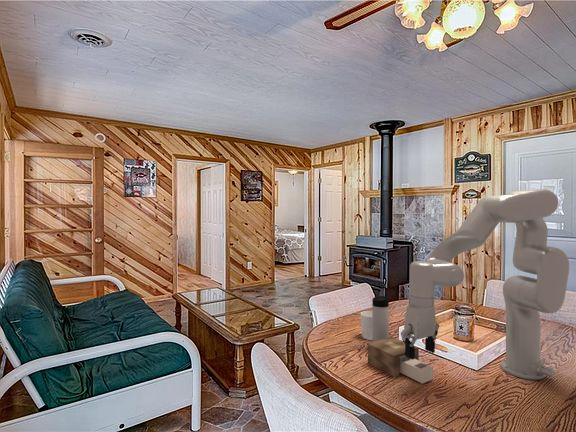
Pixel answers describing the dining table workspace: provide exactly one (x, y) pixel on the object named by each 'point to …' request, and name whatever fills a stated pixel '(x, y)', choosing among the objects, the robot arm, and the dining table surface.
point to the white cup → (366, 324)
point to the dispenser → (388, 354)
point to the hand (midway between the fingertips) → (420, 354)
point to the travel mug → (380, 318)
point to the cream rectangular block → (416, 370)
